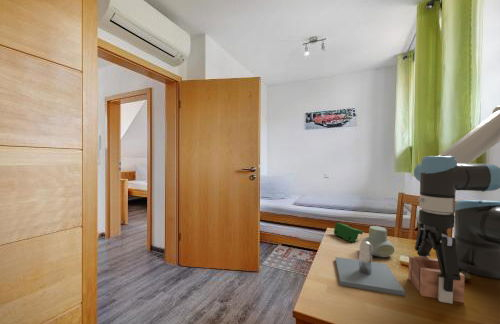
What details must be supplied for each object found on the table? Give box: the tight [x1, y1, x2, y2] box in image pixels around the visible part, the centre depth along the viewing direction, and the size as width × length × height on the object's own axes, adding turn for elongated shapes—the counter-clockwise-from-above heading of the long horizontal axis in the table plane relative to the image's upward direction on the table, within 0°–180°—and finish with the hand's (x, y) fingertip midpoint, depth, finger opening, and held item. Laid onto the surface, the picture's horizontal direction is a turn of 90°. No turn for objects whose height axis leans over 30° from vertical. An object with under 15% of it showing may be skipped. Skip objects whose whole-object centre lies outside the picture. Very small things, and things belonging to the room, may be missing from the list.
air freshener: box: [361, 225, 396, 258], centre depth 84 cm, size 11×8×10 cm
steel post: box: [358, 241, 373, 275], centre depth 68 cm, size 4×4×10 cm
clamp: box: [333, 222, 364, 243], centre depth 101 cm, size 12×6×9 cm, turn 14°
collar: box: [408, 255, 466, 303], centre depth 62 cm, size 9×9×7 cm
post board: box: [335, 257, 406, 297], centre depth 69 cm, size 16×16×1 cm
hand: (433, 288), depth 62 cm, fingers open, 11 cm apart
